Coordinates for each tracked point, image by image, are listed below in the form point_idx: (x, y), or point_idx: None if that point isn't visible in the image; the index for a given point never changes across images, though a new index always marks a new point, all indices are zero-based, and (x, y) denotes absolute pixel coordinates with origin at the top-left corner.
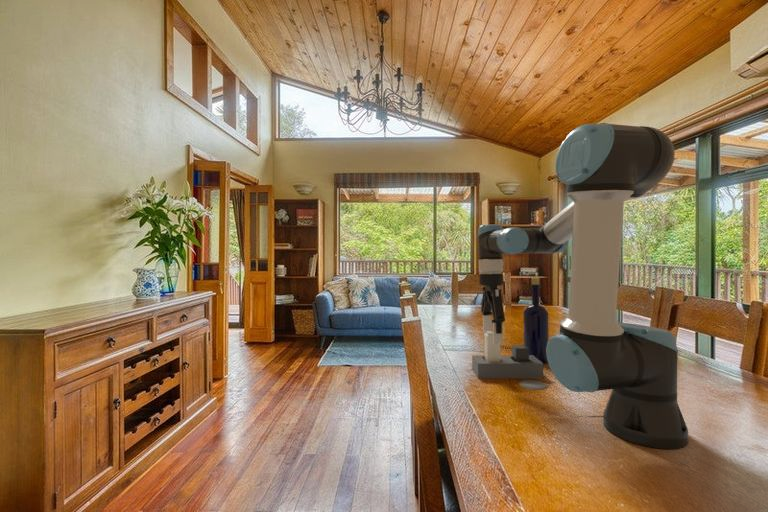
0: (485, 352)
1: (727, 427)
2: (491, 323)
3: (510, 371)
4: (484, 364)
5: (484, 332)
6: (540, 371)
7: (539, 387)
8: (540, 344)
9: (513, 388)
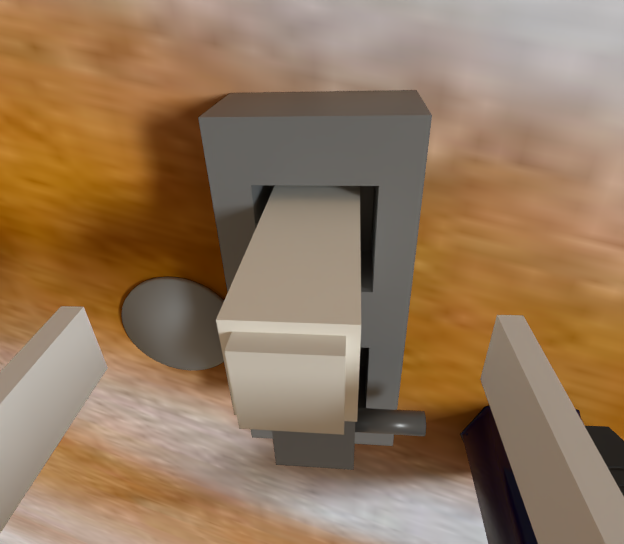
0: (329, 224)
1: (31, 536)
2: (521, 492)
3: None
4: (208, 165)
5: (502, 341)
6: None
7: (152, 337)
8: (487, 526)
9: (133, 243)
